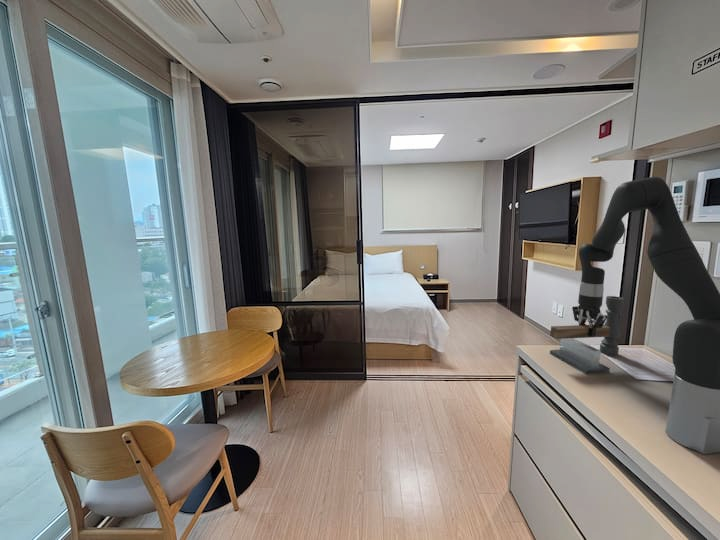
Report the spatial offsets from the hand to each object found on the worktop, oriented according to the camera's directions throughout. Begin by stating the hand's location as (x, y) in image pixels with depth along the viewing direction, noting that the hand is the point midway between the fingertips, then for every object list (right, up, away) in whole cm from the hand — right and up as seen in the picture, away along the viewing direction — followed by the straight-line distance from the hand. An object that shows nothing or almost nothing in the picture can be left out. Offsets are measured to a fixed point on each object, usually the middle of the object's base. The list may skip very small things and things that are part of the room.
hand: (586, 334), depth 118 cm
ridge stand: (-3, -12, +1) cm, 12 cm away
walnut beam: (-3, -1, 0) cm, 3 cm away
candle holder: (+17, -10, +9) cm, 22 cm away
